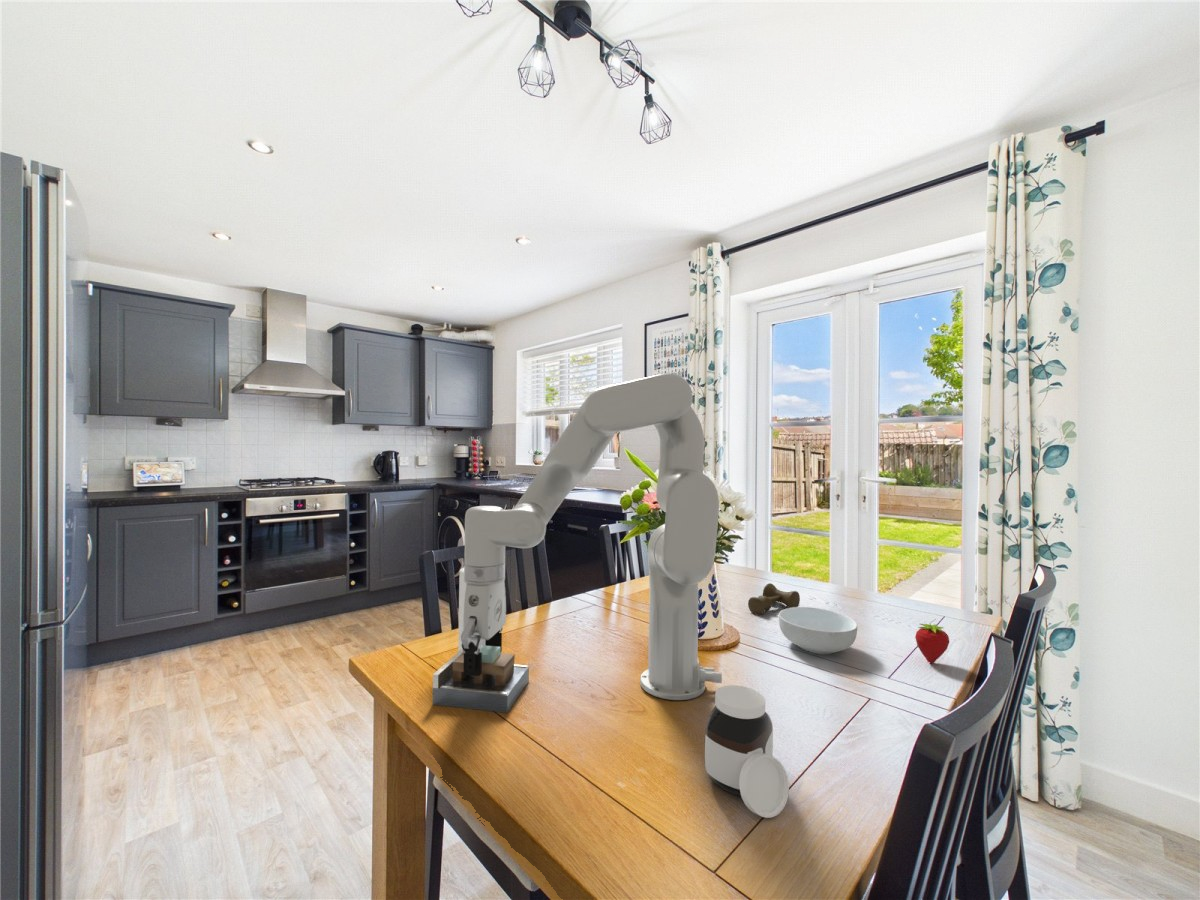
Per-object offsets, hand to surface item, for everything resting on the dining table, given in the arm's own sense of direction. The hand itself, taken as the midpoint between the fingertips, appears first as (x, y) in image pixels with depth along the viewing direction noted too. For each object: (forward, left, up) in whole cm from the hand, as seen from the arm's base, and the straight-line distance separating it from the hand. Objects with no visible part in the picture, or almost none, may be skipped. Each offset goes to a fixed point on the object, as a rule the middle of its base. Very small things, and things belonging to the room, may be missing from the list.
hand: (483, 663), depth 94 cm
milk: (+8, -15, -6) cm, 18 cm away
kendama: (-63, -65, -6) cm, 91 cm away
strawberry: (-91, -32, -6) cm, 97 cm away
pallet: (0, 0, -2) cm, 3 cm away
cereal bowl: (-68, -36, -6) cm, 77 cm away
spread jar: (-46, +18, -6) cm, 50 cm away
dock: (0, 0, -6) cm, 6 cm away
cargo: (0, 0, +1) cm, 1 cm away
